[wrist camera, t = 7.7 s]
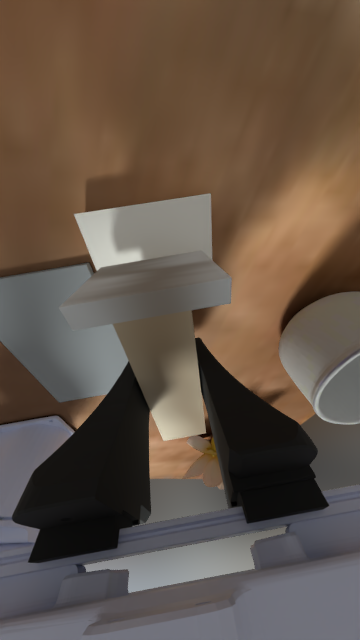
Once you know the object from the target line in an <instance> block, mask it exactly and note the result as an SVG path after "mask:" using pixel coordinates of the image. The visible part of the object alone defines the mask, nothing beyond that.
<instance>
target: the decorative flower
mask: <svg viewBox="0 0 360 640" xmlns="http://www.w3.org/2000/svg"><path fill="white" fill-rule="evenodd" d="M187 444H189V445H190V446H192V447H193V448H194V449H196V450H198V451H200V452H202V453H204V454H203V455H202V456H201V457H199V458H198V459H197V460H196V461H195V462H194V463H193V464H192V466H191V467H190V468H189V470H188V471H187V473H186V474H185V475H184V477H183V478H182V479H186V478H190V477H195V476H199V475H201V474H203V481H204V484H205V485H206V486H208V487H215V486H217V487H218V488H219V489H224V485H223V480H222V476H221V471H220V466H219V462H218V457H217V453H216V448H215V443H214V439H213V437H212V440H207V439H204V438H202V437H200V436H191V437H189V439H188V441H187Z"/></svg>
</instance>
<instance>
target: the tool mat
mask: <svg viewBox="0 0 360 640" xmlns="http://www.w3.org/2000/svg"><path fill="white" fill-rule="evenodd" d="M93 274H94V273H93V270H92V268H91V266H90V263H83V264H77V265H71V266H65V267H59V268H53V269H47V270H42V271H36V272H30V273H24V274H18V275H12V276H6V277H0V341H1V342H2V343H3V344H4V346H5V347H6V348H7V349H8V350H9V351H10V352H11V353H12V354H13V355H14V356H15V357H16V358H17V359H18V360H19V361H20V362H21V363H22V364H23V365H24V366H25V367H26V368H27V369H28V371H29V372H30V373H31V374H32V375H33V376H34V377H35V378H36V379H37V380H38V381H39V382H40V383H41V384H42V385H43V386H44V387H45V388H46V389H47V390H48V391H49V392H50V393H51V394H52V396H53V397H54V398H55V399H56V400H57V401H58V402H59V403H60V402H65V401H71V400H77V399H82V398H88V397H94V396H99V395H105V394H108V393H109V391H110V390H111V388H112V387H113V385H114V384H115V382H116V381H117V379H118V378H119V376H120V375H121V373H122V371H123V370H124V368H125V366H126V365H127V363H128V361H129V360H128V358H127V356H126V353H125V351H124V349H123V347H122V344H121V342H120V340H119V337H118V335H117V333H116V331H115V328H114V326H113V324H109V325H104V326H98V327H92V328H86V329H81V330H75V331H73V330H72V329H71V327H70V325H69V324H68V322H67V321H66V319H65V317H64V316H63V314H62V312H61V311H60V309H59V307H60V306H61V305H62V304H63V303H64V302H65V301H66V300H67V299H68V298H69V297H70V296H71V295H72V294H73V293H74V292H76V291H77V290H78V289H79V288H80V287H81V286H82V285H83V284H84V283H85V282H86V281H87V280H88V279H89V278H90V277H91V276H92V275H93Z"/></svg>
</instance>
